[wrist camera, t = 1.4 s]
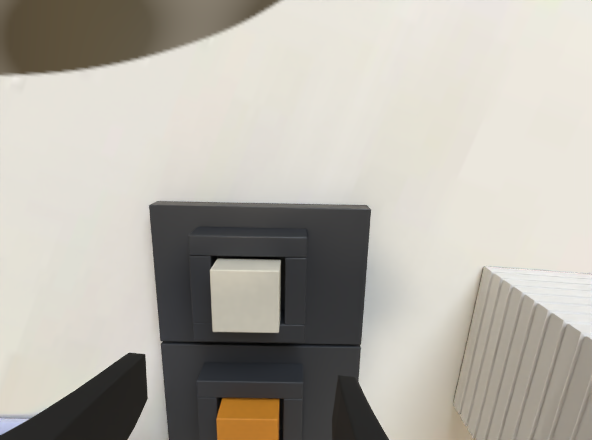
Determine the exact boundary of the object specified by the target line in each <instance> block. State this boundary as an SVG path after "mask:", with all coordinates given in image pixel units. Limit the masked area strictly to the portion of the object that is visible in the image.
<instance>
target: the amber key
mask: <svg viewBox="0 0 592 440" xmlns="http://www.w3.org/2000/svg"><path fill="white" fill-rule="evenodd" d="M279 404H280V399H279V398H222V400H221V404H220V408H219V411H218V415H217V418H216V424H217V440H279Z"/></svg>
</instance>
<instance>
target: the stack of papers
mask: <svg viewBox="0 0 592 440" xmlns="http://www.w3.org/2000/svg"><path fill="white" fill-rule="evenodd" d="M453 405H454V407H455V409H456V411H457V412H458V414H461V419H462V421H463V422H464V424H465V426H468V428H467V429H468V431H469V432H470V434H471V436H472V438H476V440H592V274H582V273H569V272H555V271H542V270H528V269H514V268H501V267H487V266H484V269H483V273H482V278H481V282H480V287H479V291H478V296H477V300H476V305H475V309H474V314H473V318H472V323H471V327H470V332H469V336H468V341H467V345H466V350H465V354H464V358H463V363H462V367H461V372H460V376H459V381H458V385H457V390H456V394H455V399H454V403H453Z"/></svg>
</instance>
